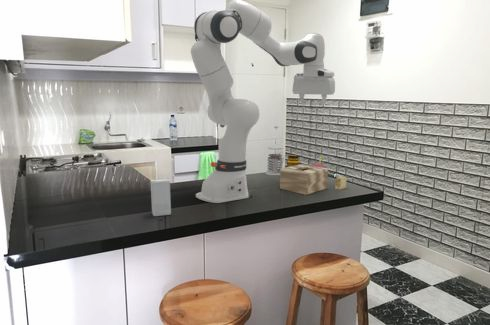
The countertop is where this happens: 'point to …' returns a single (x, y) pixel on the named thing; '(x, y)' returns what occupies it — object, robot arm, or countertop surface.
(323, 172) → the box
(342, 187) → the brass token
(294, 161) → the condiment
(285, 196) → the countertop surface
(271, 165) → the french press
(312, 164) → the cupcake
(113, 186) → the countertop surface
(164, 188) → the skincare box
